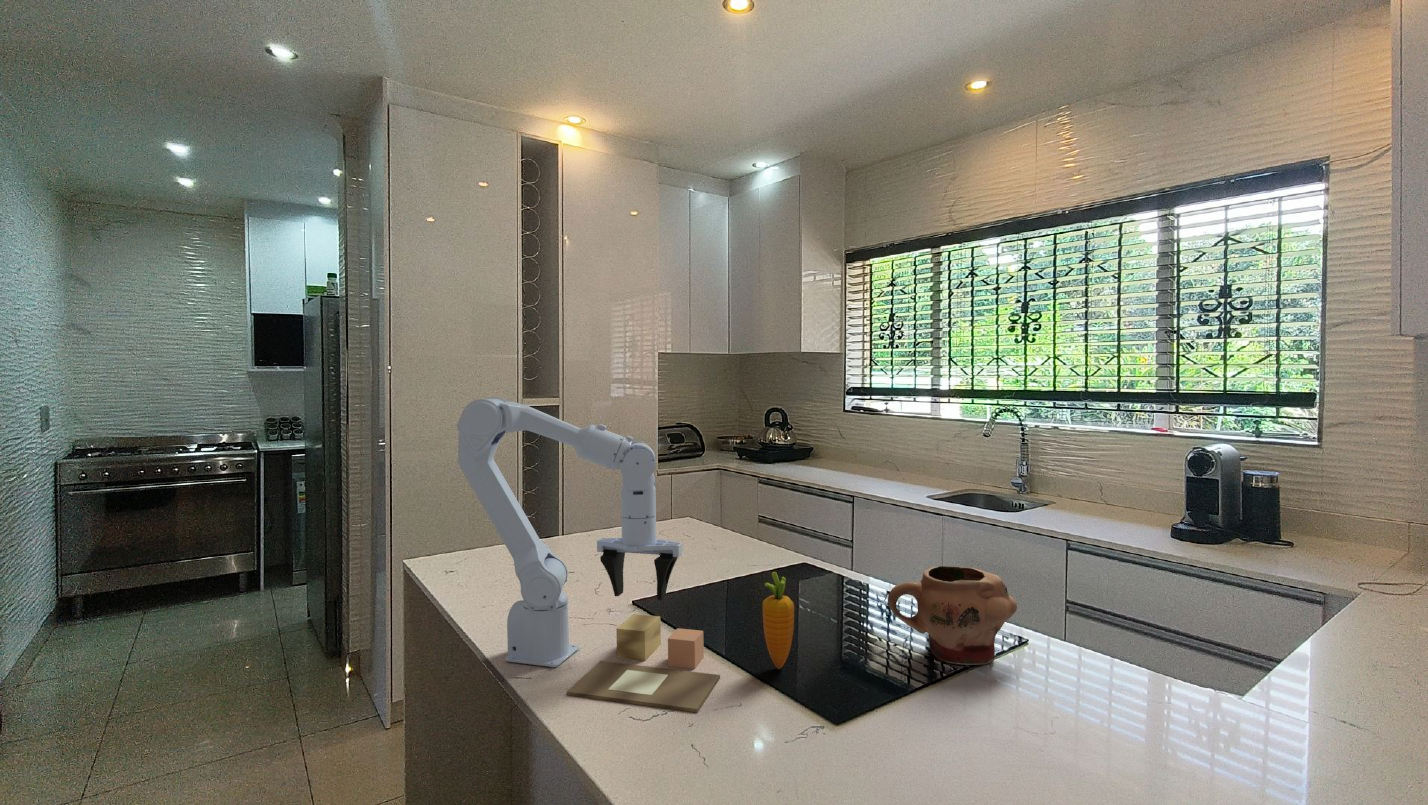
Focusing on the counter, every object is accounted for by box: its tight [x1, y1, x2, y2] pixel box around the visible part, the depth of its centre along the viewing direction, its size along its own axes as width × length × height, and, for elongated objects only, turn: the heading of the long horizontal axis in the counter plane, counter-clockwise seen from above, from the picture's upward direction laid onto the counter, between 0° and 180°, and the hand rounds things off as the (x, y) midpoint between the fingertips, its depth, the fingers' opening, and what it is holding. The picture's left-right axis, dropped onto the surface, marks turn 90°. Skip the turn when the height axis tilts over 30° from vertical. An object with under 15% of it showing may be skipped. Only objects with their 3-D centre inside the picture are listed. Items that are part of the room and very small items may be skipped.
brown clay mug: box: [887, 565, 1018, 666], centre depth 111 cm, size 20×12×14 cm, turn 89°
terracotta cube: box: [667, 627, 705, 670], centre depth 110 cm, size 4×4×4 cm
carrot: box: [762, 571, 795, 670], centre depth 107 cm, size 5×5×15 cm
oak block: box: [615, 613, 662, 662], centre depth 115 cm, size 5×7×5 cm
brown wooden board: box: [566, 660, 721, 714], centre depth 102 cm, size 20×11×1 cm, turn 73°
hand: (639, 596), depth 114 cm, fingers open, 7 cm apart
